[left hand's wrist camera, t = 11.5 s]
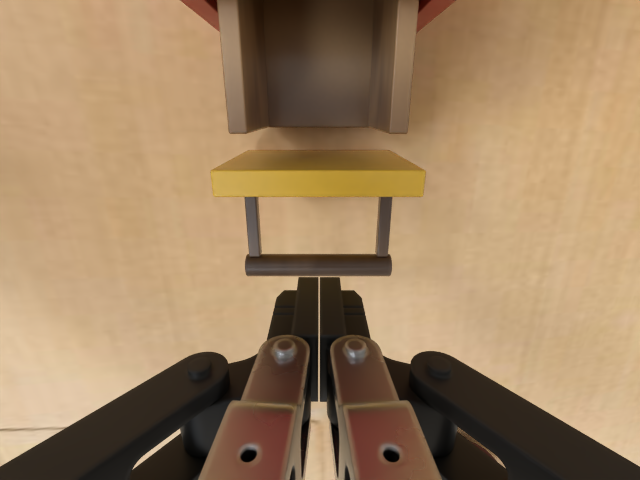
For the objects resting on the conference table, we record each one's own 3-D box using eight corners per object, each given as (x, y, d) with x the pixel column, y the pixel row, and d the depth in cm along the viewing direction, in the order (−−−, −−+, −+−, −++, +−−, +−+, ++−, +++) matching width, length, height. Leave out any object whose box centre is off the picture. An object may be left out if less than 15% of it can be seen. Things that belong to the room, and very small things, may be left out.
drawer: (383, 238, 24) (412, 296, 17) (254, 238, 24) (223, 296, 17) (412, -166, 17) (489, -397, 9) (224, -166, 17) (145, -396, 9)
